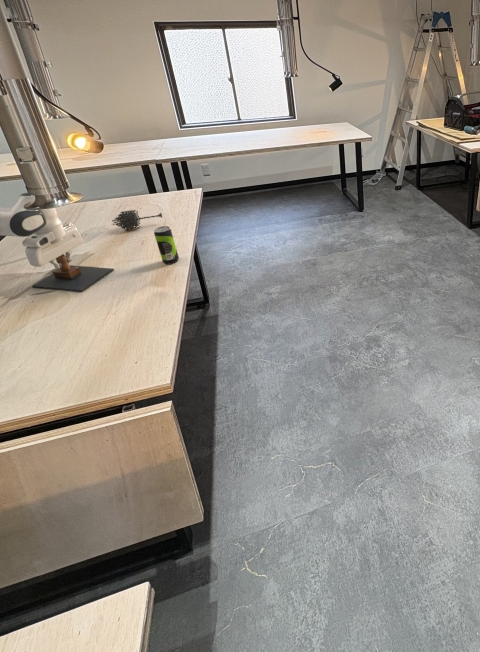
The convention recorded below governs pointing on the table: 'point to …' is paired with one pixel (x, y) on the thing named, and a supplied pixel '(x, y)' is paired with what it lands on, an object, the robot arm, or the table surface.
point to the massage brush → (130, 219)
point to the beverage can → (166, 244)
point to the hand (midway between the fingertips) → (63, 264)
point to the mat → (75, 279)
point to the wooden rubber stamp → (66, 269)
